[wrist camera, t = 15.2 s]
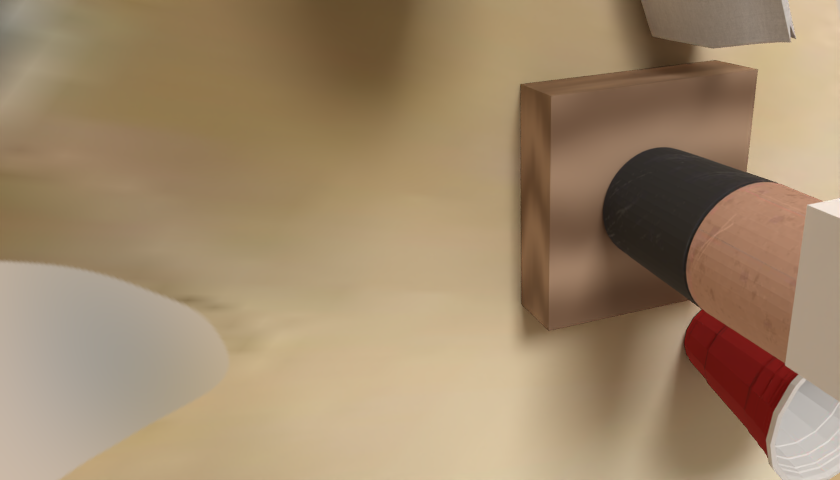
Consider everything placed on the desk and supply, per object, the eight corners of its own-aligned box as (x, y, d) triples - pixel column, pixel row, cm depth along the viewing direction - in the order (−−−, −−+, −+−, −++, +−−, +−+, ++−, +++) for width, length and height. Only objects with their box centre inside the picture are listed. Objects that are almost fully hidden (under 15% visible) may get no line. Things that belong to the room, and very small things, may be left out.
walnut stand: (520, 84, 47) (551, 96, 44) (715, 60, 51) (757, 69, 47) (521, 304, 53) (548, 330, 49) (696, 268, 57) (733, 290, 53)
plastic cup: (746, 398, 63) (867, 491, 52) (638, 391, 59) (746, 491, 48) (795, 275, 60) (935, 348, 49) (685, 260, 56) (811, 335, 45)
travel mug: (668, 115, 46) (991, 226, 29) (723, 199, 50) (1040, 344, 32) (575, 203, 46) (841, 367, 29) (637, 281, 50) (906, 469, 32)
